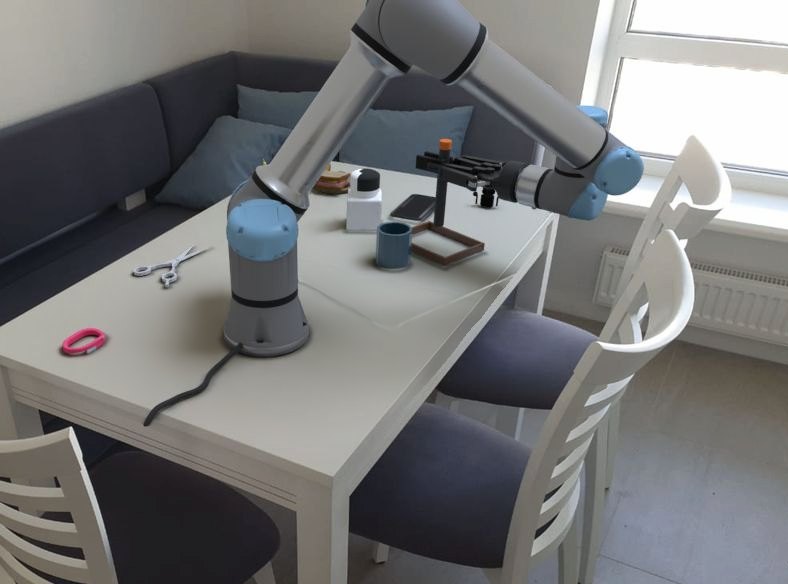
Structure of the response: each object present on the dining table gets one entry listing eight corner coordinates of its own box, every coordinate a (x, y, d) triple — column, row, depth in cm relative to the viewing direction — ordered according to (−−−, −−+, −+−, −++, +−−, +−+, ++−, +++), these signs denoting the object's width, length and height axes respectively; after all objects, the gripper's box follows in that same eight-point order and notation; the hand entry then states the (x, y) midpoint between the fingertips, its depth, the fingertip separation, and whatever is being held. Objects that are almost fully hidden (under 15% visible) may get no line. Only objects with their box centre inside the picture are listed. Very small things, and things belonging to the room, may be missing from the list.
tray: (444, 269, 165) (445, 258, 163) (389, 244, 176) (390, 234, 174) (483, 253, 171) (484, 243, 170) (428, 230, 182) (429, 220, 180)
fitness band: (80, 359, 138) (78, 352, 137) (56, 350, 141) (54, 343, 140) (112, 339, 144) (111, 331, 143) (89, 330, 146) (87, 323, 146)
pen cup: (392, 275, 163) (394, 238, 159) (368, 263, 168) (369, 227, 163) (417, 265, 167) (419, 229, 162) (393, 254, 171) (395, 219, 167)
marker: (438, 228, 169) (446, 143, 159) (430, 224, 170) (437, 140, 160) (446, 225, 170) (454, 140, 160) (438, 221, 171) (445, 137, 162)
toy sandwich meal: (368, 183, 208) (369, 166, 205) (339, 199, 199) (340, 181, 196) (329, 174, 214) (329, 157, 212) (299, 189, 205) (299, 171, 203)
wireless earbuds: (471, 206, 193) (473, 186, 190) (472, 203, 195) (475, 183, 192) (500, 209, 191) (503, 189, 188) (502, 206, 193) (504, 185, 190)
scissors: (125, 273, 164) (184, 238, 178) (126, 277, 164) (184, 241, 179) (167, 284, 159) (223, 247, 174) (167, 288, 160) (223, 250, 174)
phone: (442, 198, 195) (420, 219, 184) (442, 202, 195) (420, 223, 185) (412, 193, 198) (388, 213, 187) (412, 197, 199) (388, 218, 188)
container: (380, 220, 187) (382, 165, 180) (380, 233, 181) (382, 177, 174) (347, 219, 188) (348, 165, 181) (346, 232, 182) (347, 177, 174)
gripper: (500, 214, 150) (398, 187, 164) (539, 191, 159) (439, 167, 173) (505, 175, 146) (400, 150, 159) (545, 154, 155) (442, 133, 169)
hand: (421, 159), depth 166 cm, fingers closed on marker, 2 cm apart
